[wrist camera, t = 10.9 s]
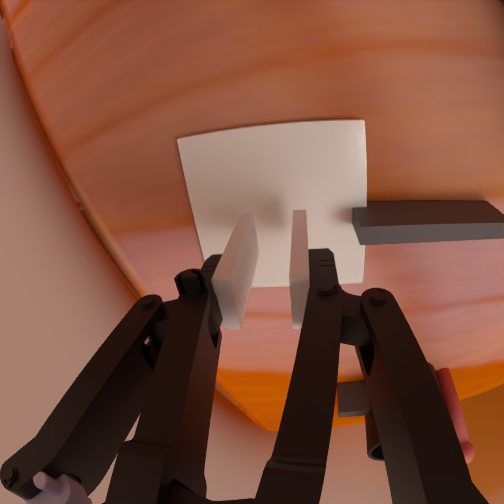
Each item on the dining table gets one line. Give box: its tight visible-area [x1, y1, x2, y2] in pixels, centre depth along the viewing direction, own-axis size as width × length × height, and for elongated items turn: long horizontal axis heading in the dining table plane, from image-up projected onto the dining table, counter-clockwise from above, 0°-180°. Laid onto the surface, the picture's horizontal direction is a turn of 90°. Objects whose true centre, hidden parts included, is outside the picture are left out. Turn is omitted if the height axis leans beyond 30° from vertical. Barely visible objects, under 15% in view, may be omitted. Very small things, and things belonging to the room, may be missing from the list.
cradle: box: [337, 200, 504, 464], centre depth 18 cm, size 23×15×13 cm, turn 8°
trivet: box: [177, 119, 367, 287], centre depth 20 cm, size 12×12×1 cm
